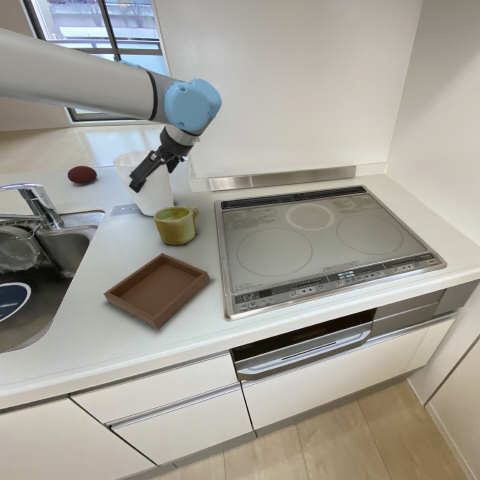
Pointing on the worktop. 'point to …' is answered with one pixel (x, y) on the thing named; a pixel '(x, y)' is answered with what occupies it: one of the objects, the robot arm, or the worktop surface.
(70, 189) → the worktop surface
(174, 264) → the tray
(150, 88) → the robot arm
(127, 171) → the cup
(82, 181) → the dark red rounded lump
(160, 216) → the mug
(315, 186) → the worktop surface
